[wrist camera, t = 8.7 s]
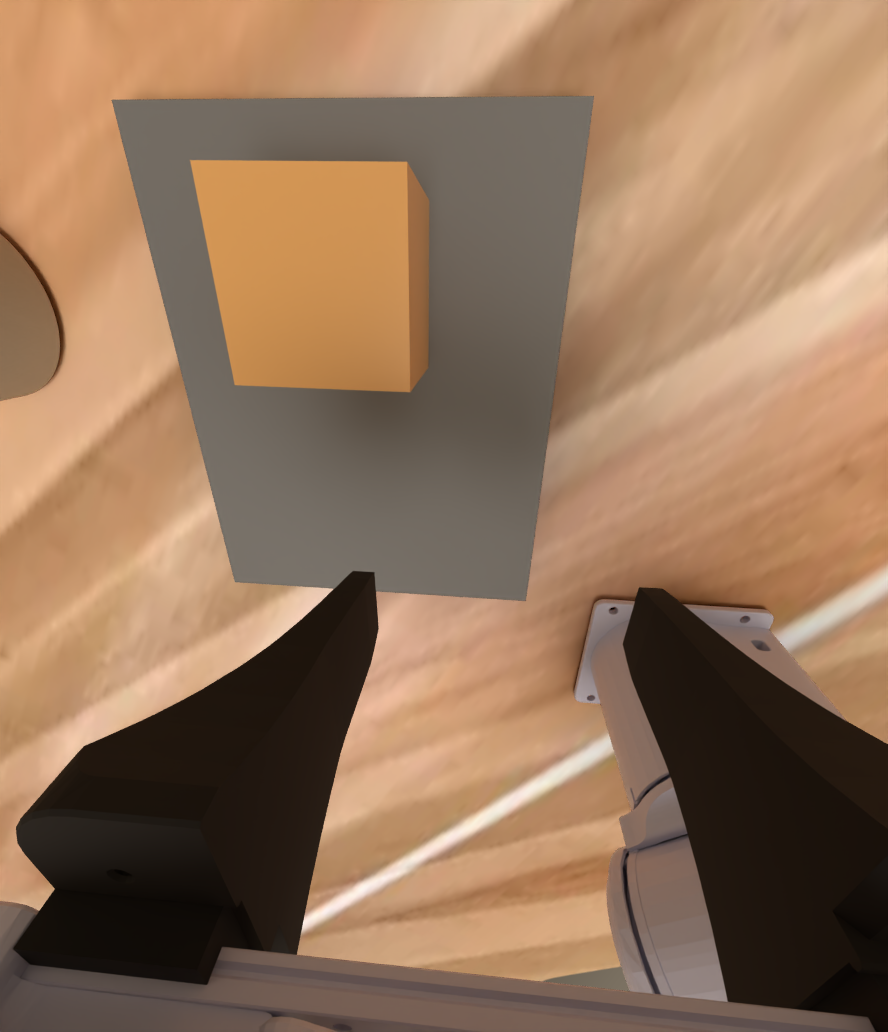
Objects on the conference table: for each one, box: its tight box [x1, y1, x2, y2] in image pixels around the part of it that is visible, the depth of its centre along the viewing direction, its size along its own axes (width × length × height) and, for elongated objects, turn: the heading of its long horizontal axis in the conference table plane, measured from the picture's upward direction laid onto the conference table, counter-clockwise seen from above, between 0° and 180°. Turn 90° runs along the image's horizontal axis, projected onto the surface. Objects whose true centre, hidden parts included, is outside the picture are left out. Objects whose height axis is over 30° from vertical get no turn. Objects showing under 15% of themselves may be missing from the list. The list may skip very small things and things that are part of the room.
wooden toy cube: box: [190, 160, 429, 392], centre depth 14 cm, size 6×6×5 cm
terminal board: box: [112, 96, 594, 601], centre depth 18 cm, size 16×20×5 cm
